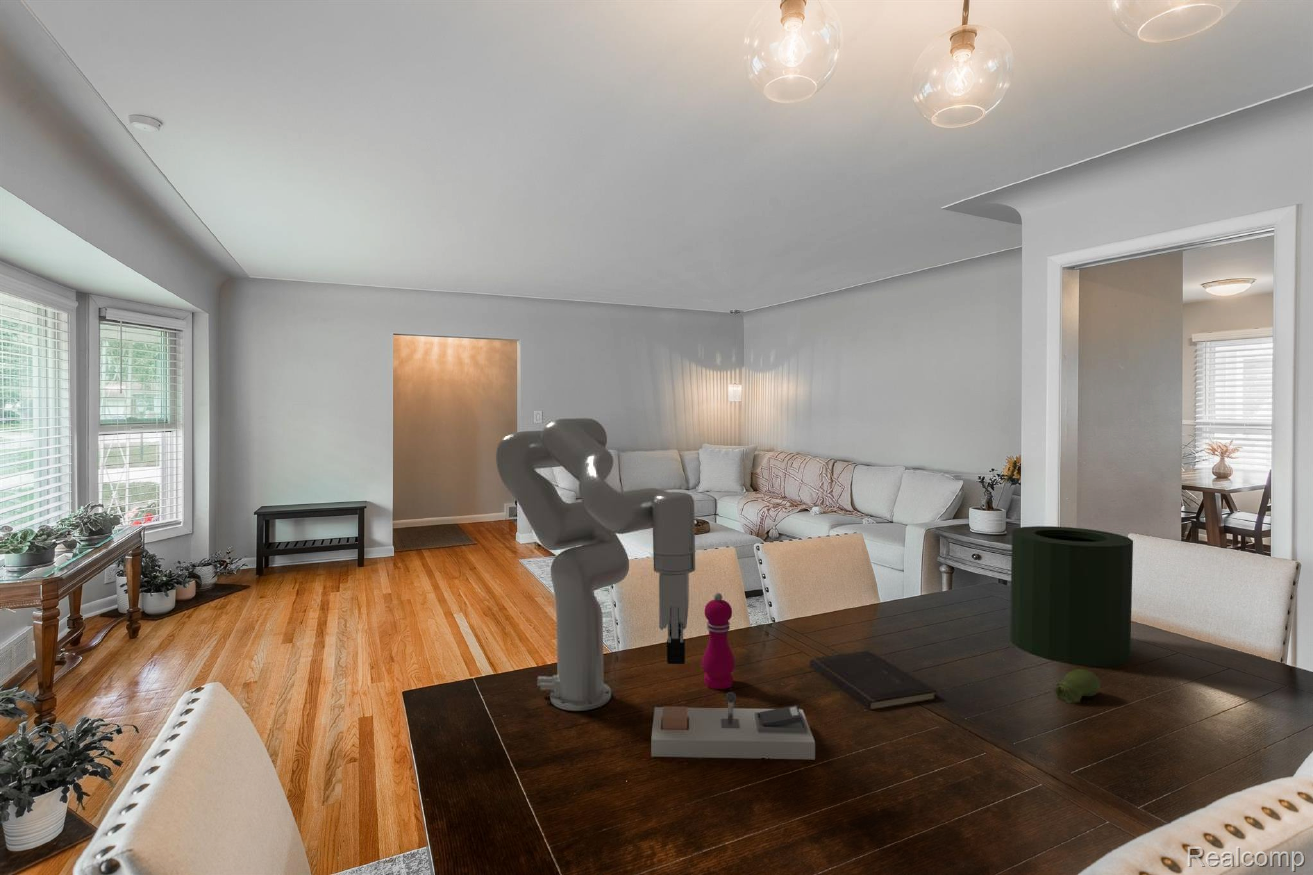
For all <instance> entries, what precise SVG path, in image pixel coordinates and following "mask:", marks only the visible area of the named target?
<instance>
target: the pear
mask: <svg viewBox="0 0 1313 875" xmlns="http://www.w3.org/2000/svg"><path fill="white" fill-rule="evenodd" d="M1100 688H1101V682H1100V680H1099V678H1098V676H1097V675H1096V674H1095V673H1093V671H1090V670H1088V669H1085V668H1078V669H1077V668H1076V669H1074V670H1071V671H1069V672H1068V673H1066V674H1065V676H1064V677H1063V679H1061V680H1060V681H1059V682H1058V683H1057V687H1055V688H1054V691H1055V695H1056V697H1057V698H1058V699H1060V700H1063V701H1064V702H1067V703H1069V704H1078V703H1080V702H1081V699H1082V697H1092V696H1095V695H1097V693H1098V692H1100Z"/></svg>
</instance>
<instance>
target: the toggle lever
mask: <svg viewBox="0 0 1313 875" xmlns="http://www.w3.org/2000/svg"><path fill="white" fill-rule="evenodd" d="M725 699H726V701H727V708H728V723H730V724H731V723H733V708H735V706H734V703H735V701H736V699H737V696H736V693H735V692H733V691H729V692H726V695H725Z"/></svg>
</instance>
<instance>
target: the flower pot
mask: <svg viewBox="0 0 1313 875" xmlns="http://www.w3.org/2000/svg"><path fill="white" fill-rule="evenodd" d="M1133 553H1134V540H1133V539H1132V538H1130V537H1128V536H1125V535H1121V534H1118V533H1114V532H1109V531H1103V530H1097V529H1090V528H1080V527H1071V526H1054V525H1053V526H1051V525H1050V526H1049V525H1048V526H1047V525H1046V526H1045V525H1039V526H1038V525H1037V526H1036V525H1034V526H1023V527H1016V528H1014V529H1012V530H1011V558H1010V559H1011V560H1010V562H1011V568H1010V569H1011V570H1010V571H1011V572H1010V575H1011V576H1010V619H1009V620H1010V623H1009V624H1010V625H1009V628H1010V630H1009V632H1010V633H1009V634H1010V635H1009V638H1010V642H1011V643H1012V644H1013V645H1014V646H1016V647H1017V648H1018V649H1020V650H1022V651H1024V652H1026V653H1028V654H1030V655H1032V656H1033V655H1034V656H1036V657H1039V658H1042V659H1046V660H1048V661H1053V662H1058V663H1061V664H1066V665H1075V666H1082V667H1091V668H1092V667H1093V668H1094V667H1095V668H1110V667H1118V666H1122V665H1124V664H1127V663H1129V662H1130V659H1131V646H1132V645H1131V644H1132V643H1131V642H1132V641H1131V640H1132V637H1131V636H1132V605H1133V604H1132V602H1133V601H1132V600H1133V599H1132V598H1133V596H1132V595H1133V568H1134V567H1133V565H1134V564H1133V563H1134V562H1133V561H1134V559H1133V557H1134V554H1133Z"/></svg>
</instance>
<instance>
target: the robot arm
mask: <svg viewBox="0 0 1313 875" xmlns="http://www.w3.org/2000/svg"><path fill="white" fill-rule="evenodd" d="M607 442H608V436H607V432H606V430H605V427H603V425H602V424H601V423H600V422H599V421H598V420H595V419H593V418H588V417H584V418H583V417H582V418H559V419H555V420H552V421H550V422H549V423H548V424H546V425H545V427H544V428H543V429H542V430H525V431H518V432H517V431H516V432H514V433H510V434H507V435H506V436H504V437H503V438H502V439H501V440H500V441H499V443H498V445H497V447H496V452H495V453H496V454H495V461H496V468H497V471H498V474H499V477H500V479H501V481H502V483H503V484H504V487H506V489H507V490H508V491H509V493H510V494H511V495H512V496H513V499H515V500H516V502H517V503H518V504H519V506H520V508H521V511H522V512H523V514H524V516H525V518H526V520H527V521H528V523H529V525H530V526H531V529H532V530H533V532H534V535H535V536H536V538H537V540H538V541H539V543H540V545H541V546H543V548H544V549H546V550H548V551H560V550H563V551H561V552H560V553H558V554H557V555H556V556H555V557H554V559H553V560H552V563H551V566H550V577H551V578H550V579H551V583H552V588H553V592H554V598H555V599H554V600H555V613H556V654H557V655H556V656H557V657H556V660H557V661H556V662H557V663H556V666H557V671H556V672H557V674H553V675H552V676H546V675H545V676H544V675H543V676H542V675H538V677H537V681H536V682H537V683H536V685H537V687H540V688H539V689H540V690H541V691H547V690H548V691H550V690H551V692H550V695H549V696H550V697H549V698H550V702H551V704H552V705H554V706H555V707H556V708H558V709H561V710H564V711H572V712H581V711H589V710H593V709H597V708H600V707H602V706H604V705H605V704H607V703H608V702H609V700H611V697H612V690H611V687H610V686H609V685H608V684H606V683H604V622H603V620H604V618H603V617H604V616H603V610H602V607H601V605H600V603H599V601H598V600H597V598H596V595H595V591H597V590H600V589H604V588H606V587H610V586H613V585H616V584H619V583H620V582H622V581H623V580H624V579H625V578H626V577H627V576H628V573H629V570H630V561H629V555H628V553H627V550H626V549H625V546H624V545H623V543H622V542H621V539H620V538H619V536H618V535H624V534H628V533H629V534H630V533H633V532H635V533H636V532H639V531H644V530H650V529H652V548H653V549H652V551H653V554H652V555H653V560H652V561H653V571H654V572H655V573H657V574H658V575H659V577H658V611H659V612H658V628H659V630H661V631H663V630H664V629H667V639H666V663H667V664H668V665H685V663H686V647H685V645H686V643H685V638H684V630H685V629H687V625H688V617H689V615H688V614H689V601H690V599H689V598H690V594H689V593H690V590H689V588H690V585H689V584H690V579H689V578H690V576H689V575H690V573H691V574H692V573H693V572H695V571H696V536H695V534H696V533H695V532H696V531H695V526H696V525H695V524H696V523H695V521H696V520H695V501H694V497H693V496H692V495H691V494H689V493H686V492H679V491H675V492H674V491H672V492H670V491H666V490H664V489H660V488H656V487H655V488H654V487H653V488H652V487H651V488H650V487H649V488H641V489H632V490H625V491H617V490H616V489H614V488H613V487H612V486H611V485H609V484H608V483H607V481H605V480H606V479H607V478H608V477H609V475H610V473H611V472H612V470H613V467H614V457H613V455H612V453H611V452H610V451H609V450H608V449H607V448H606V446H607ZM556 467H558V468H560V467H562V468H564V469H565V471H567V472H568V474H570V475H571V476H572V477H573V478H574V479H575V480H577V481H578V492H579V497H580V500H581V501H578V502H571V503H570V502H566V501H565V500H563V498H562V497H561V495H560V494H559V493H558V491H557V489H556V487H555V485H554V484H553V483H552V482H551V481H550V480H549V479H548V478H546V477H545V476H544V475H542V474H541V473H539V472H537V471H536V469H537V470H538V469H547V468H548V469H549V468H556ZM617 534H618V535H617Z"/></svg>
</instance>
